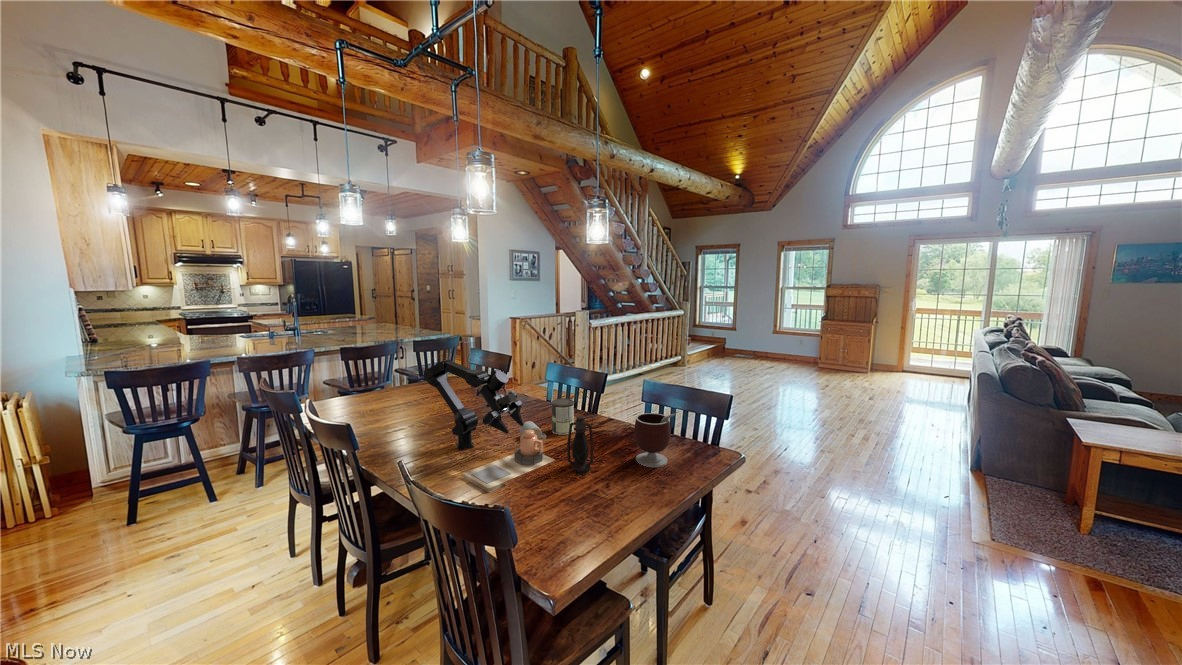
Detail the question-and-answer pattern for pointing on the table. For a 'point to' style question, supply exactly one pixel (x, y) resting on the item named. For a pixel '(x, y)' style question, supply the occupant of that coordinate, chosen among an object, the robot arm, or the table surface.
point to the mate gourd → (652, 438)
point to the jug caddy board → (505, 470)
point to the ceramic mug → (532, 426)
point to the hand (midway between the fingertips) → (515, 429)
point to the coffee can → (562, 416)
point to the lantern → (580, 444)
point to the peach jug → (530, 443)
